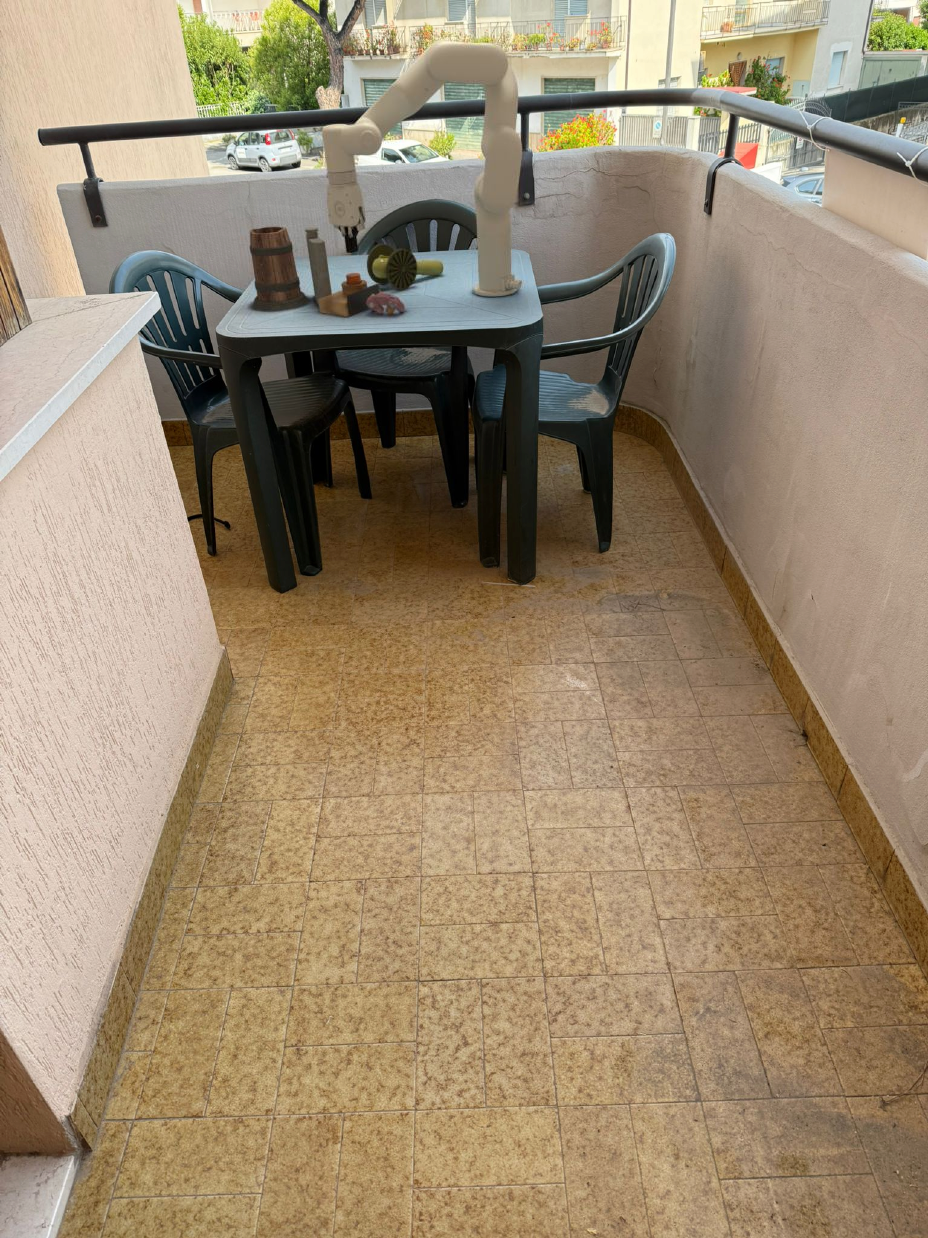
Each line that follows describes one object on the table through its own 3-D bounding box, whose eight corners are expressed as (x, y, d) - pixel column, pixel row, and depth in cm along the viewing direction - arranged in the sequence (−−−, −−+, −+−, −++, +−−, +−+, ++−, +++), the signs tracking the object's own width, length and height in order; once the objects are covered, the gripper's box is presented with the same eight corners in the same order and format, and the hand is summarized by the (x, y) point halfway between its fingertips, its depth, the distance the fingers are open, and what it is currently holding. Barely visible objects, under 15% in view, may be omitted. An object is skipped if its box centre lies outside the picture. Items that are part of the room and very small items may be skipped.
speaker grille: (380, 302, 239) (378, 283, 236) (350, 314, 231) (347, 295, 228) (379, 302, 240) (377, 283, 237) (348, 314, 231) (346, 294, 228)
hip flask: (334, 307, 239) (324, 231, 227) (320, 309, 238) (309, 233, 226) (325, 294, 251) (314, 221, 240) (311, 295, 251) (300, 223, 239)
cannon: (429, 271, 268) (426, 233, 261) (452, 277, 260) (450, 238, 254) (364, 287, 255) (360, 247, 249) (387, 294, 248) (383, 253, 241)
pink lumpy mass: (369, 319, 233) (362, 299, 227) (374, 307, 235) (367, 287, 229) (402, 320, 231) (396, 300, 225) (406, 308, 233) (400, 288, 227)
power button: (364, 282, 238) (363, 273, 236) (354, 286, 235) (353, 276, 234) (353, 281, 240) (352, 272, 238) (344, 284, 237) (343, 275, 236)
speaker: (381, 303, 241) (379, 281, 237) (346, 316, 231) (343, 294, 227) (355, 298, 245) (352, 277, 242) (320, 312, 236) (316, 290, 232)
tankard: (304, 309, 239) (292, 233, 227) (245, 312, 239) (231, 236, 228) (316, 287, 258) (306, 217, 246) (262, 290, 258) (249, 220, 247)
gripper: (312, 179, 223) (323, 252, 234) (354, 181, 216) (363, 257, 227) (331, 174, 228) (341, 246, 239) (373, 176, 221) (381, 250, 231)
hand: (352, 251), depth 233 cm, fingers closed
